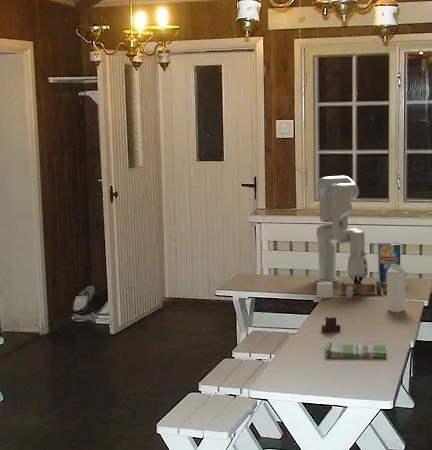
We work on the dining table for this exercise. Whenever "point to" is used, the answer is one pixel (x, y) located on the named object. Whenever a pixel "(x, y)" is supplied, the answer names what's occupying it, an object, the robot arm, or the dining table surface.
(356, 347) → the dish towel
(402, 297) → the milk
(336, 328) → the stack of crates
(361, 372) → the dining table surface
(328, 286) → the toilet paper
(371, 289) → the brown bar
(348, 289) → the latch post
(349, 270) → the robot arm
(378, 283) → the pivot post
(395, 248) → the blue food box
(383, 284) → the fence panel
